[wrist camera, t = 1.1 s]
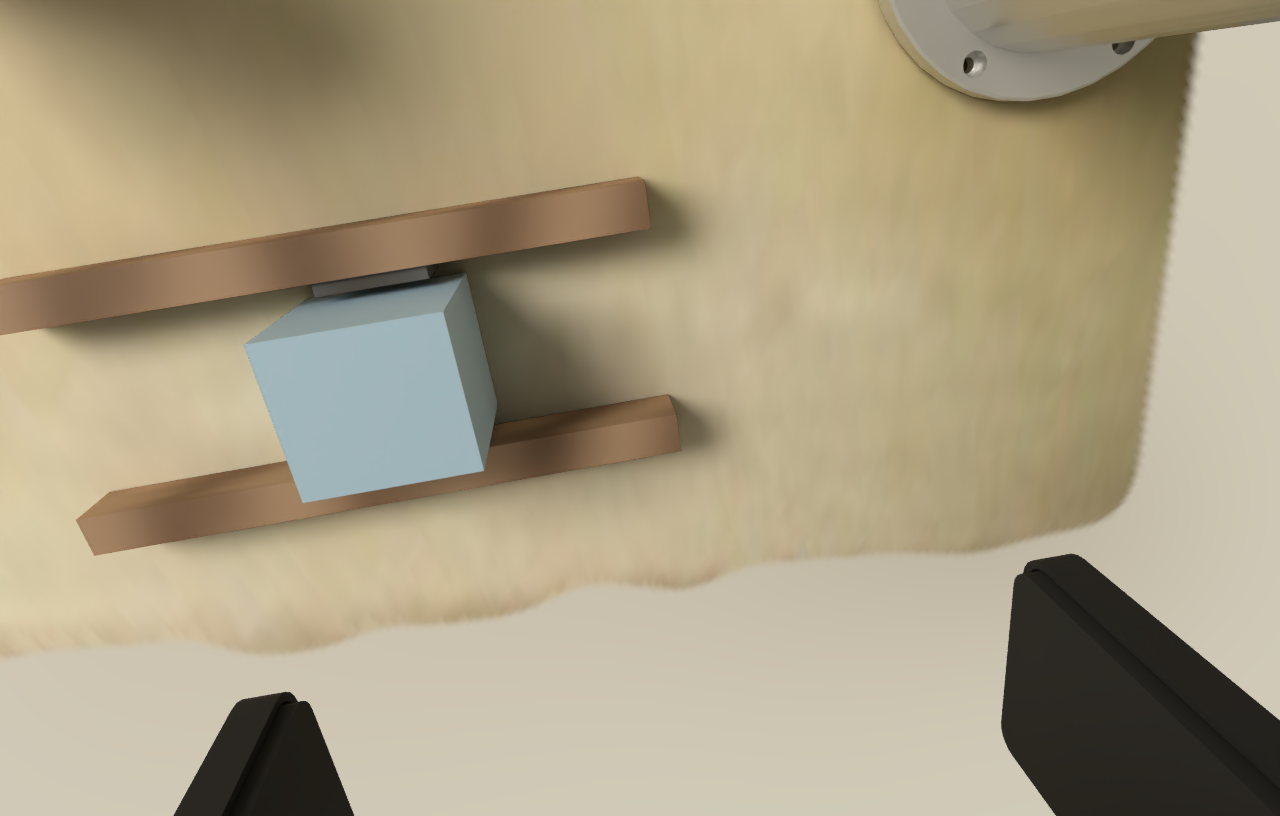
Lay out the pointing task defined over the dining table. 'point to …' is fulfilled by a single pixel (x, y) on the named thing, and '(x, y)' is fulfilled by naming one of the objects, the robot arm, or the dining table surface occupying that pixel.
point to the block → (378, 387)
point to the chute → (332, 268)
